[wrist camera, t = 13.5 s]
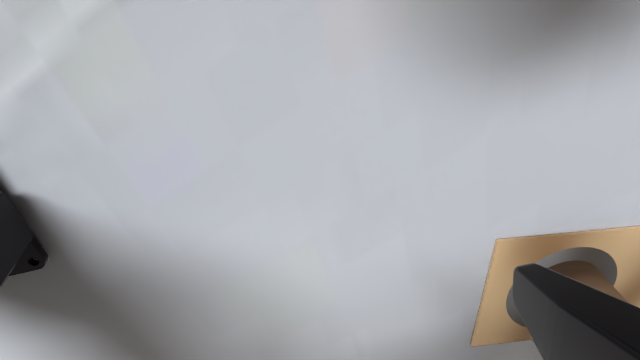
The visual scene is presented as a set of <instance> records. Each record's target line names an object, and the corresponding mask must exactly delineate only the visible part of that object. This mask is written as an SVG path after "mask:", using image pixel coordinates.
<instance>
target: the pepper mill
mask: <svg viewBox="0 0 640 360" xmlns="http://www.w3.org/2000/svg"><path fill="white" fill-rule="evenodd" d="M548 269H551V270H553V271H555V272H558V273H560V274H562V275H565V276H567V277H569V278H572V279H574V280H576V281H579V282H581V283H583V284H586V285H588V286H590V287H593V288H595V289H597V290H600V291H602V292H604V293H607V294H609V295H611V296H614V297H616V298H618V299H621V300H623V301H625V302H627V301H626V300H625V298H624V297H623V296H622V295H621V294H620V293H619V292H618V291H617V290H616V289H615V288H614V286H613V285H612V284H611V283H610V282H609V281H608V280H607V279H606V278H605V277H604V276H603V274H602V273H601V272H600V271H599V270H598V269H597V268H596V267H595V266H594V265H593V264H591V263H589V262H585V261H566V262H562V263H559V264H556V265H553V266H551V267H549V268H548Z"/></svg>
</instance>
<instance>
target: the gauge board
mask: <svg viewBox="0 0 640 360" xmlns="http://www.w3.org/2000/svg"><path fill="white" fill-rule="evenodd" d="M566 261H585V262H589V263H591V264H593V265H594V266H595V267H596V268H597V269H598V270H599V271H600V272H601V273H602V274H603V276H604V277H605V278H606V279H607V280H608V281H609V282H610V283H611V284H612V285H613V286H614V288H615V289H616V290H617V291H618V292H619V293H620V294H621V295H622V296H623V297H624V298H625V300H626V301H627V302H628V303H630V304H632V305H635V306H637V307H639V308H640V226H634V227H624V228H613V229H602V230H592V231H581V232H570V233H559V234H549V235H538V236H527V237H516V238H506V239H496V242H495V247H494V251H493V255H492V259H491V263H490V267H489V271H488V275H487V279H486V283H485V287H484V291H483V295H482V299H481V303H480V307H479V311H478V315H477V319H476V324H475V328H474V332H473V336H472V340H471V346H481V345H490V344H498V343H507V342H516V341H525V340H533V339H532V337H531V335H530V333H529V331H528V329H527V327H526V326H525V324H524V322H523V320H522V318H521V316H520V314H519V312H518V311H517V309H516V307H515V304H514V301H513V297H512V287H513V272H514V269H515V267H517V266H520V265H525V264H529V263H536V264H539V265H541V266H544V267H546V268H549V267H551V266H553V265H556V264H559V263H562V262H566Z"/></svg>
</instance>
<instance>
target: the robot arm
mask: <svg viewBox="0 0 640 360" xmlns="http://www.w3.org/2000/svg"><path fill="white" fill-rule="evenodd" d="M33 258H36V259H37V260H35V259H33ZM47 260H48V255H47V253H46V252H45V251H44V249H43V248H42V246H41V245H40V244H39V242H38V241H37V239H36V238H35V237H34V235H33V233H32V232H31V231H30V229H29V228H28V226H27V225H26V224H25V222H24V221H23V219H22V218H21V217H20V215H19V214H18V212H17V211H16V210H15V208H14V207H13V205H12V204H11V203H10V201H9V200H8V198H7V197H6V195H5V194H4V193H3V192H2V190H1V189H0V288H1V286H2V285H3V283H4V282H5V280H6V279H7V277H8V276H12V275H16V274H21V273H25V272H29V271H34V270H38V269H41V268H43V267H44V266H45V264H46V262H47ZM512 297H513V301H514V304H515V307H516V309H517V311H518V312H519V314H520V316H521V318H522V320H523V322H524V324H525V326H526V327H527V329H528V331H529V333H530V335H531V337H532V339H533V341H534V342H535V344H536V346H537V348H538V350H539V352H540V354H541V355H542V357H543V359H544V360H640V308H639V307H637V306H635V305H632V304H630V303H628V302H625V301H623V300H621V299H618V298H616V297H614V296H611V295H609V294H607V293H604V292H602V291H600V290H597V289H595V288H593V287H590V286H588V285H586V284H583V283H581V282H579V281H576V280H574V279H572V278H569V277H567V276H565V275H562V274H560V273H558V272H555V271H553V270H551V269H548V268H546V267H544V266H541V265H539V264H536V263H529V264H525V265H520V266H517V267H515V269H514V272H513V287H512Z"/></svg>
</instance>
